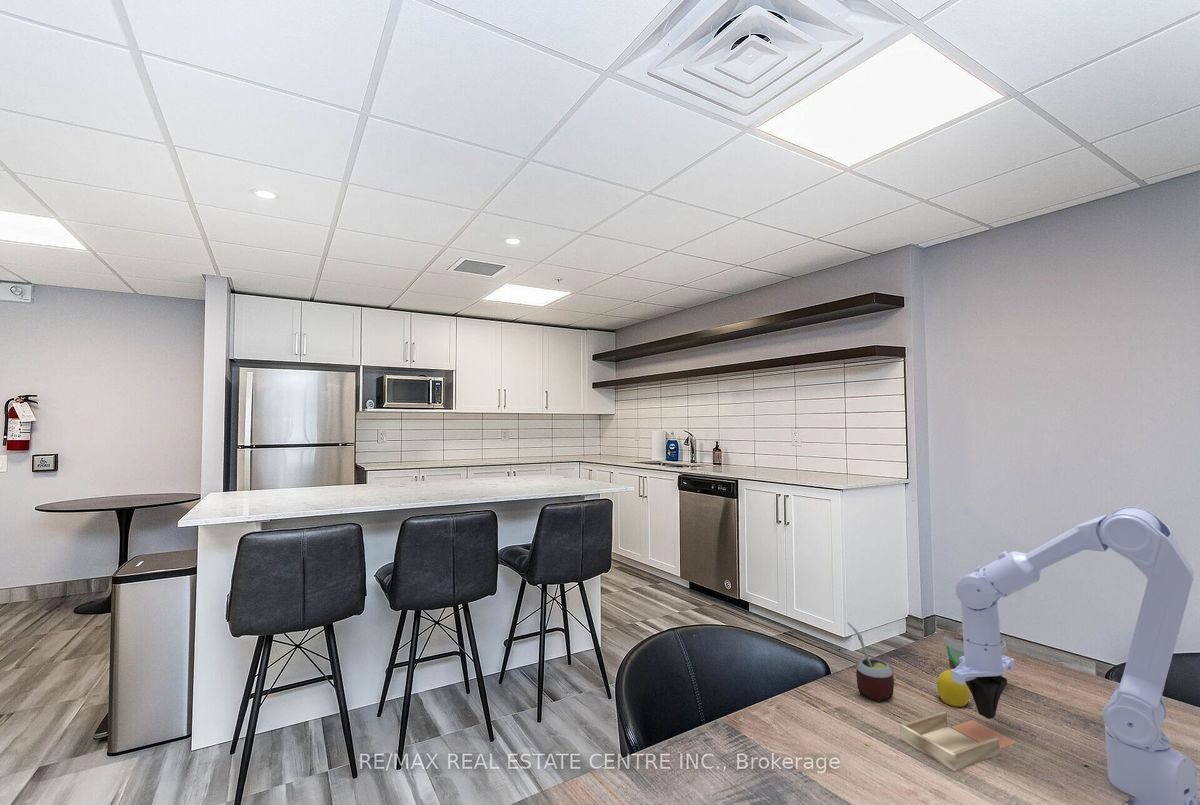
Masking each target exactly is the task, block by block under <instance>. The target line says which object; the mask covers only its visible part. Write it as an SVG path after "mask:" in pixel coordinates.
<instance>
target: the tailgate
mask: <svg viewBox="0 0 1200 805" xmlns="http://www.w3.org/2000/svg"><path fill="white" fill-rule="evenodd" d="M950 728H952V729H954V730H955V731H957V732H959V733H961V734H963V735H965V736H967V737H969V738H971V739H973V740H975V741H977V742H978V743H980V742H983V741H986V740H989V739H991V738H994V737H996V738H998V739H999V745H1000V749H1003V748H1006V747H1008V746H1011V745H1014V744H1016V743H1018V741H1016V740H1015V739H1012V738H1010V737H1008V736H1007V735H1004V734H1002V733H1000V732H998V731H995V730H994V729H992V728H989V727H987V726H985V725H983V724H982V723H979V722H977V721H975V720H973V719H972V720H969V721H965V722H962V723H959V724H956V725H953V726H950Z"/></svg>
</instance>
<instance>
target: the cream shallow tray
mask: <svg viewBox="0 0 1200 805" xmlns="http://www.w3.org/2000/svg"><path fill="white" fill-rule="evenodd" d="M899 735H900V736H899V737H900V741H902V742H904V743H906V744H907V745H909V746H911V747H913V748H914V749H916V750H918V751H919V752H921V753H923V754H924V755H926V756H927V757H929V758H931V759H932V760H934V761H935V762H938V763H940V765H943V766H945V767H946V768H947V769H949V770H951V771H953V772H956V771H959V770H961V769H964V768H967V767H969V766H973V765H975V764H978V763H980V762H983V761H985V760H988V759H991V758H993V757H996V756H998V755H1000V754H1001V751H1000V750H1001V748H1000V745H999V739H998V738H996V737H994V738H991V739H989V740H986V741H983V742H978V741H976V740H974V739H972V738H970V737H968V736H966V735H964V734H963V733H961V732H959V731H957V730H955V729H953V728H951V726H948V714H947V712H946V711H944V710H943V711H940V712H937V713H933V714H931V715H927V716H924V717H921V718H917V719H914V720H912V721H909V722H905V723H902V724H899Z"/></svg>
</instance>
